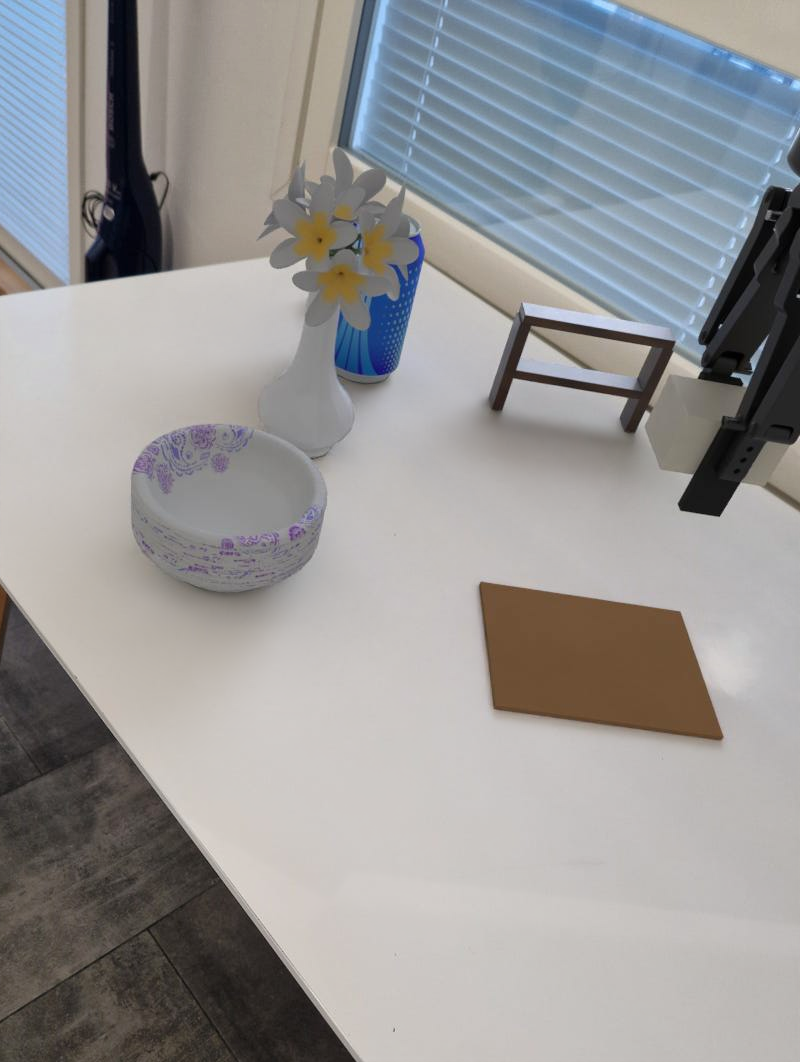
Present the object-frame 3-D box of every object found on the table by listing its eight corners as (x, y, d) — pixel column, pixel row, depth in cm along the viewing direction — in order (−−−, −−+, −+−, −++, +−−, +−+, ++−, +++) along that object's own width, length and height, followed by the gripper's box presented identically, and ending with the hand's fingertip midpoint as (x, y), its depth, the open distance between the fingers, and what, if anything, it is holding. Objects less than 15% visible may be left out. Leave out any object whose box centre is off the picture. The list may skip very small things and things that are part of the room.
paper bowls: (252, 647, 68) (264, 570, 62) (91, 563, 72) (88, 482, 66) (345, 546, 78) (362, 471, 72) (199, 476, 82) (205, 399, 76)
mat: (678, 614, 79) (680, 611, 78) (721, 740, 69) (724, 737, 69) (479, 584, 77) (480, 581, 77) (494, 709, 67) (495, 705, 67)
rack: (629, 418, 102) (671, 328, 94) (634, 433, 100) (678, 341, 92) (489, 395, 100) (519, 301, 93) (491, 409, 98) (523, 314, 90)
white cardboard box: (742, 443, 61) (772, 391, 58) (764, 486, 58) (797, 433, 55) (643, 426, 60) (669, 373, 58) (660, 469, 57) (688, 415, 54)
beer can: (341, 339, 104) (367, 196, 93) (407, 365, 102) (442, 222, 91) (309, 368, 98) (333, 219, 87) (378, 395, 96) (412, 247, 85)
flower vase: (257, 504, 80) (295, 219, 62) (227, 392, 92) (251, 126, 74) (394, 502, 84) (467, 232, 66) (348, 394, 96) (399, 141, 78)
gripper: (771, 42, 50) (610, 405, 67) (903, 147, 38) (665, 563, 54) (896, 68, 51) (706, 421, 67) (1068, 180, 38) (782, 581, 55)
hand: (688, 484), depth 61 cm, fingers closed on white cardboard box, 5 cm apart
